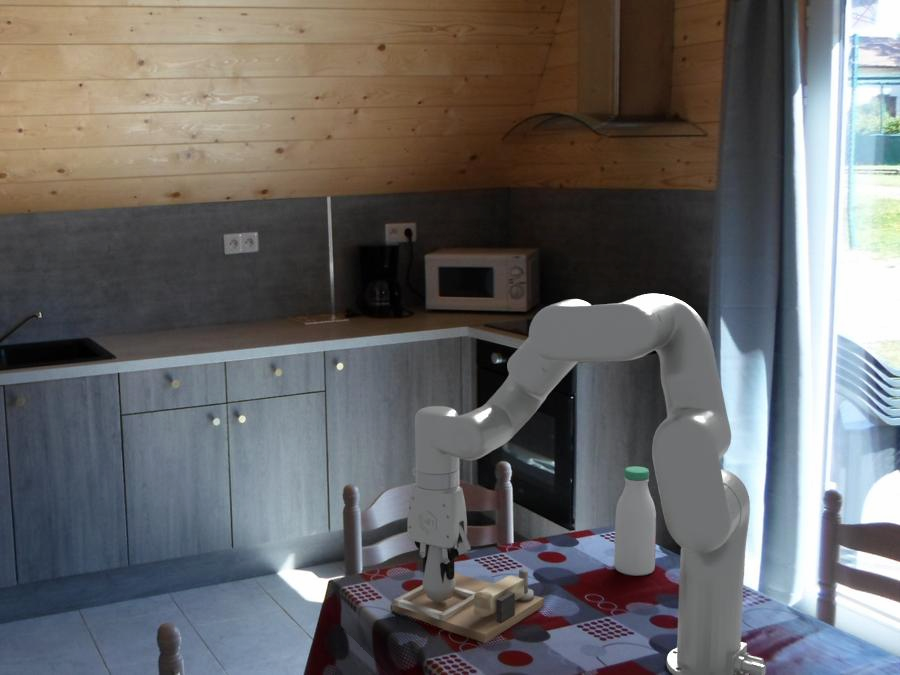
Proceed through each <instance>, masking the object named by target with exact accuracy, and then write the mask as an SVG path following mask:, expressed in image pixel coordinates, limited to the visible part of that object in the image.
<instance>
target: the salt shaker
mask: <svg viewBox="0 0 900 675" xmlns="http://www.w3.org/2000/svg"><path fill="white" fill-rule="evenodd" d="M449 553H450V551H449ZM442 562H443V558H442V548H439V547H435V546H431V545H429V549H428V555H427V561H426V566H425V572H424V573H423V580H422V584H421V585H423V589H424V591H425V593H426V595H427V597H428V598H429V599H431V600H433V601H445V600H447V599H449V598H451V596H452V594H453V591H454V589H455V583H456V582H455V577H454V578H453V579H452V580H448V579H447V576H446V572H445V574H444V581H443V583H442V578H441V570H440V563H442Z"/></svg>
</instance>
